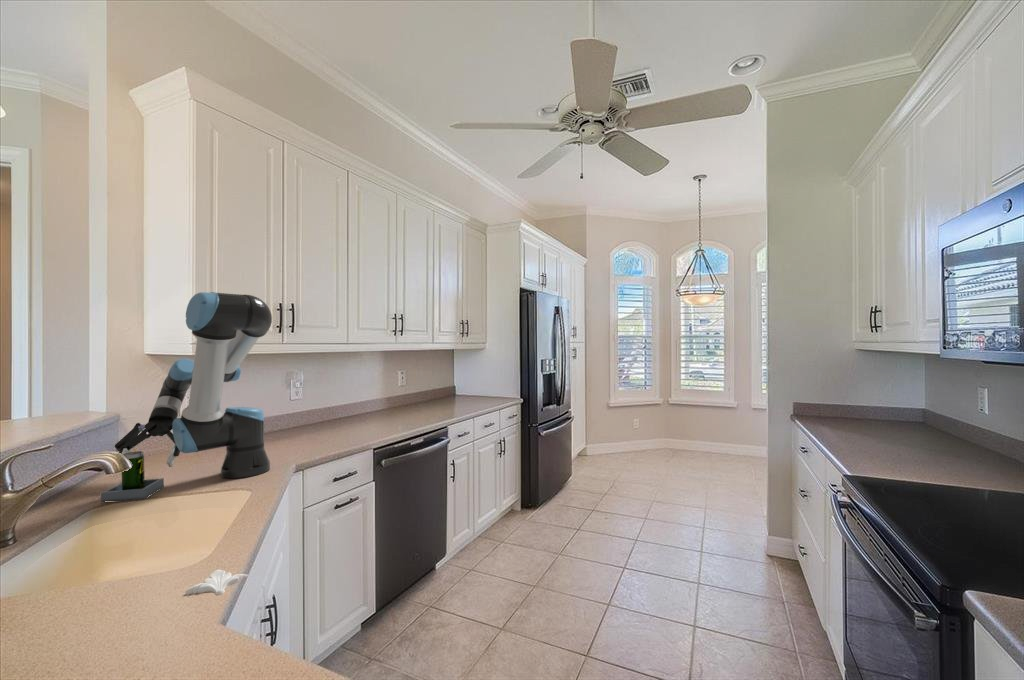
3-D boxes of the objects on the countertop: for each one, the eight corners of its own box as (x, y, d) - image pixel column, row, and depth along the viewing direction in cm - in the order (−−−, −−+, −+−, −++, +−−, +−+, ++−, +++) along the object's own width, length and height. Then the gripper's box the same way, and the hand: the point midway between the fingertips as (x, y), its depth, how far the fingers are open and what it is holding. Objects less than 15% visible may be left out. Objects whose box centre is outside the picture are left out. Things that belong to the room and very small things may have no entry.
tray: (163, 487, 144) (163, 478, 144) (144, 499, 133) (144, 489, 133) (123, 490, 141) (123, 481, 141) (100, 503, 130) (100, 492, 130)
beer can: (120, 496, 133) (119, 456, 133) (123, 491, 138) (122, 452, 138) (143, 492, 136) (142, 453, 136) (146, 488, 141) (145, 450, 141)
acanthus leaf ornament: (185, 598, 82) (185, 588, 82) (212, 578, 89) (212, 568, 89) (224, 598, 82) (224, 588, 82) (248, 578, 88) (248, 568, 88)
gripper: (209, 416, 164) (192, 468, 149) (127, 420, 157) (102, 476, 143) (203, 404, 158) (185, 457, 144) (118, 407, 152) (91, 464, 137)
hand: (144, 466), depth 143 cm, fingers open, 13 cm apart
